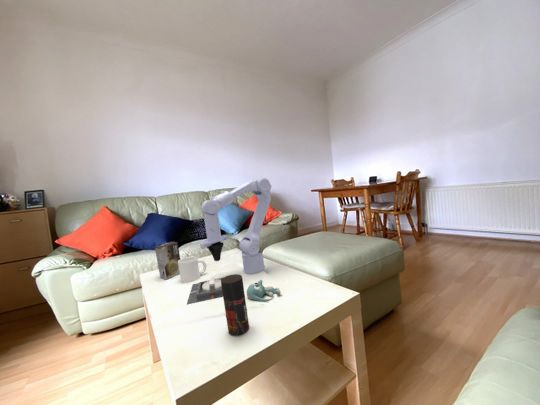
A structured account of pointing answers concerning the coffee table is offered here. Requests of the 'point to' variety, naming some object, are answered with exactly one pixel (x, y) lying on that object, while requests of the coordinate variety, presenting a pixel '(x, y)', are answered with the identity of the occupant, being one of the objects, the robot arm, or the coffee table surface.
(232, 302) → the deodorant
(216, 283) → the dial
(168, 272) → the coffee box
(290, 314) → the coffee table surface
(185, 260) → the mug
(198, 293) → the panel
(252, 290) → the stuffed animal
